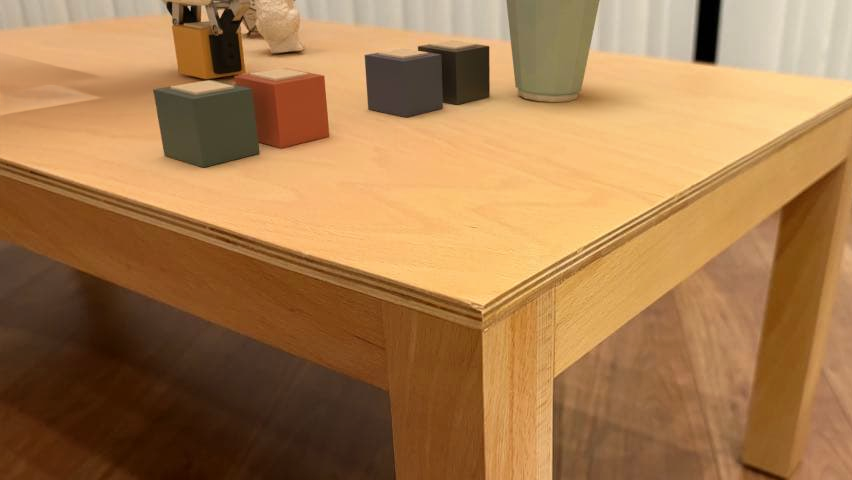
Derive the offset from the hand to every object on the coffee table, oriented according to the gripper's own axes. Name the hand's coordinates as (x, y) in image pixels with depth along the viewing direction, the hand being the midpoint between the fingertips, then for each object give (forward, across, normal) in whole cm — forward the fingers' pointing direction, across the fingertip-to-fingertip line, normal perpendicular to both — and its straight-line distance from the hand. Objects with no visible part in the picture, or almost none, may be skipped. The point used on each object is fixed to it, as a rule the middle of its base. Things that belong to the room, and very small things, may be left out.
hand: (211, 67), depth 93 cm
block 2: (+1, +27, -12) cm, 29 cm away
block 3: (+1, +27, +2) cm, 27 cm away
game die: (+1, -20, +22) cm, 30 cm away
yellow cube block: (+1, 0, 0) cm, 1 cm away
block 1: (+1, +27, -19) cm, 33 cm away
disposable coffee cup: (+1, +34, +16) cm, 38 cm away
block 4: (+1, +27, +9) cm, 29 cm away
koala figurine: (+1, -7, +15) cm, 17 cm away
